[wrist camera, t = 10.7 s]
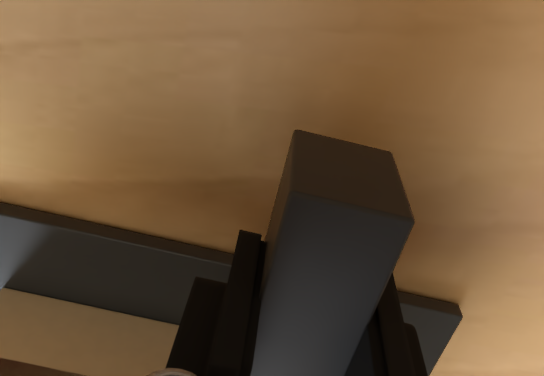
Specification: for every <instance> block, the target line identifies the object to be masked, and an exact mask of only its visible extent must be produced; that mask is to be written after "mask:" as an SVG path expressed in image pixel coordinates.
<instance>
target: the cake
mask: <svg viewBox="0 0 544 376" xmlns="http://www.w3.org/2000/svg"><path fill="white" fill-rule="evenodd" d="M233 257H234V254H229V253H225V252H220V251H216V250H211V249H207V248H202V247H198V246H193V245H189V244H184V243H180V242H175V241H171V240H166V239H162V238H157V237H153V236H149V235H144V234H140V233H135V232H131V231H126V230H122V229H117V228H113V227H108V226H104V225H99V224H95V223H90V222H86V221H81V220H77V219H73V218H68V217H64V216H59V215H55V214H50V213H46V212H41V211H37V210H32V209H28V208H23V207H19V206H14V205H10V204H5V203H1V202H0V376H146V375H148V374H150V373H152V372H154V371H156V370H161V369H165V368H166V365H167V362H168V358H169V355H170V352H171V349H172V346H173V343H174V340H175V337H176V334H177V331H178V328H179V325H180V322H181V319H182V316H183V313H184V310H185V306H186V303H187V300H188V297H189V294H190V291H191V288H192V285H193V282H194V279H195V277H196V276H197V277H202V278H206V279H211V280H215V281H220V282H224V283H228V278H229V274H230V270H231V265H232V261H233ZM397 294H398V298H399V302H400V307H401V311H402V316H403V320H404V323H408V324H412V325H413V326H414V327H415V329H416V332H417V335H418V339H419V343H420V347H421V351H422V355H423V359H424V362H425V366H426V370H427V374H428V376H429V375H430V373H431V371H432V370H433V368H434V366H435V364H436V363H437V361H438V359H439V358H440V356H441V354H442V352H443V351H444V349H445V347H446V345H447V344H448V342H449V340H450V339H451V337H452V335H453V333H454V332H455V330H456V328H457V326H458V325H459V323H460V321H461V320H462V318H463V316H462V313H461V310H460V308H459V306H458V305H457V304H453V303H448V302H444V301H439V300H435V299H430V298H426V297H421V296H417V295H412V294H408V293H403V292H399V291H397Z"/></svg>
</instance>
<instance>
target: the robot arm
mask: <svg viewBox="0 0 544 376" xmlns="http://www.w3.org/2000/svg"><path fill="white" fill-rule="evenodd" d="M261 236H262V235H261V234H257V233H252V232H248V231H243V230H240V231H239V235H238V240H237V244H236V248H235V253H234V257H233V261H232V265H231V270H230V274H229V278H228V283H224V282H220V281H215V280H211V279H206V278H202V277H197V276H196V277H195V279H194V282H193V285H192V288H191V291H190V294H189V297H188V300H187V303H186V306H185V310H184V313H183V316H182V319H181V322H180V325H179V328H178V331H177V334H176V337H175V340H174V343H173V346H172V349H171V352H170V355H169V358H168V362H167V365H166V368H165V369H161V370H156V371H154V372H152V373H150V374H148V375H146V376H250V375H251V371H252V366H253V360H254V353H255V345H256V337H257V330H258V322H259V315H260V307H261V300H260V299H259V293H260V286H261V279H262V272H263V265H264V258H265V250H266V243H267V242H265V241H261ZM345 376H428V374H427V370H426V366H425V362H424V359H423V355H422V351H421V347H420V343H419V339H418V335H417V332H416V329H415V327H414V326H413V325H412V324H408V323H404V320H403V316H402V311H401V307H400V302H399V298H398V294H397V289H396V285H395V281H394V276H393V272H392V274H391V276H390V279H389V281H388V283H387V285H386V288H385V290H384V292H383V294H382V296H381V299H380V301H379V303H378V305H377V308H376V310H375V312H374V314H373V317H372V319H371V321H370V323H369V324H368V325H367V327H366V329H365V332H364V334H363V336H362V338H361V341H360V343H359V345H358V347H357V350H356V352H355V354H354V356H353V358H352V361H351V363H350V365H349V367H348V370H347V372H346V374H345Z"/></svg>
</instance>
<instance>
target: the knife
mask: <svg viewBox="0 0 544 376" xmlns="http://www.w3.org/2000/svg"><path fill="white" fill-rule="evenodd" d="M414 223H415V221H414V216H413V214H412V211H411V208H410V205H409V202H408V199H407V196H406V193H405V190H404V187H403V184H402V181H401V178H400V175H399V172H398V169H397V167H396V164H395V161H394V158H393V155H392V153H391V152H389V151H385V150H381V149H377V148H372V147H368V146H364V145H360V144H356V143H351V142H347V141H343V140H339V139H335V138H330V137H326V136H322V135H318V134H314V133H309V132H305V131H301V130H295V131H294V133H293V136H292V140H291V143H290V147H289V151H288V155H287V158H286V162H285V166H284V170H283V173H282V177H281V181H280V185H279V188H278V192H277V196H276V200H275V203H274V207H273V211H272V215H271V218H270V222H269V226H268V230H267V234H266V237H265V242H267V243H266V250H265V258H264V265H263V272H262V279H261V286H260V293H259V299H260V300H261V307H260V315H259V322H258V330H257V337H256V345H255V353H254V360H253V366H252V371H251V375H250V376H345V374H346V372H347V370H348V367H349V365H350V363H351V361H352V358H353V356H354V354H355V352H356V350H357V347H358V345H359V343H360V341H361V338H362V336H363V334H364V332H365V329H366V327H367V325H368V324H369V323H370V321H371V319H372V317H373V314H374V312H375V310H376V308H377V305H378V303H379V301H380V299H381V296H382V294H383V292H384V290H385V288H386V285H387V283H388V281H389V279H390V276H391V274H392V272H393V270H394V267H395V265H396V263H397V261H398V259H399V256H400V254H401V252H402V250H403V247H404V245H405V243H406V241H407V238H408V236H409V234H410V232H411V230H412V227H413V225H414Z"/></svg>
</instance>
